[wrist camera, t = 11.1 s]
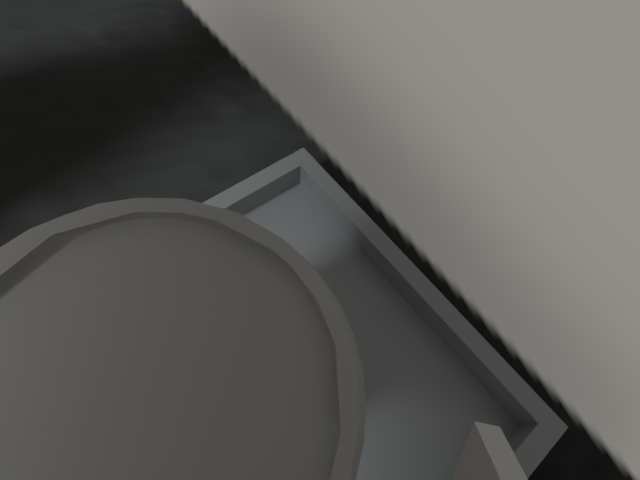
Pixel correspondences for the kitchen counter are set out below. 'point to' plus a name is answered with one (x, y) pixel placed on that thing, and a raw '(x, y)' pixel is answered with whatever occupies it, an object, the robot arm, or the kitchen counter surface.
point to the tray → (397, 332)
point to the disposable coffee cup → (172, 351)
